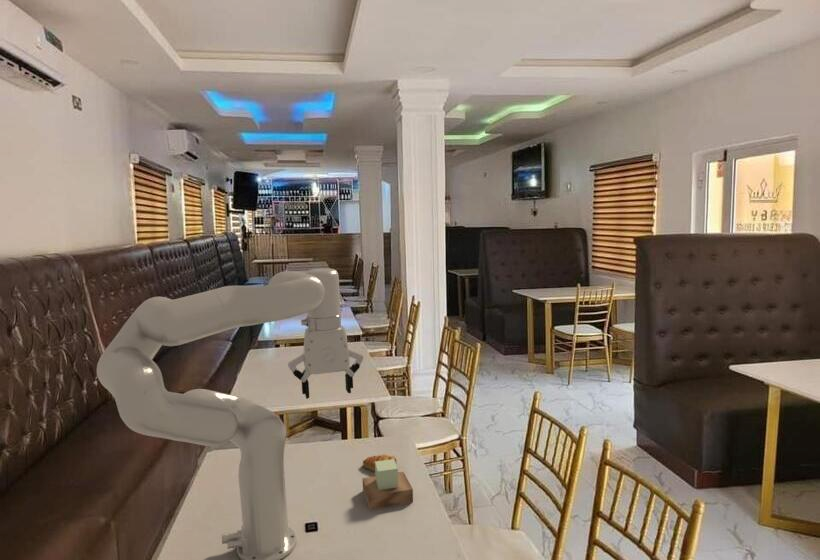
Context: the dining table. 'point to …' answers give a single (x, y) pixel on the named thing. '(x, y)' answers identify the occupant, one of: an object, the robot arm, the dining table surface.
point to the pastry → (370, 461)
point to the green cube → (386, 474)
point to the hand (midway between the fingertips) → (328, 393)
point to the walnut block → (387, 493)
